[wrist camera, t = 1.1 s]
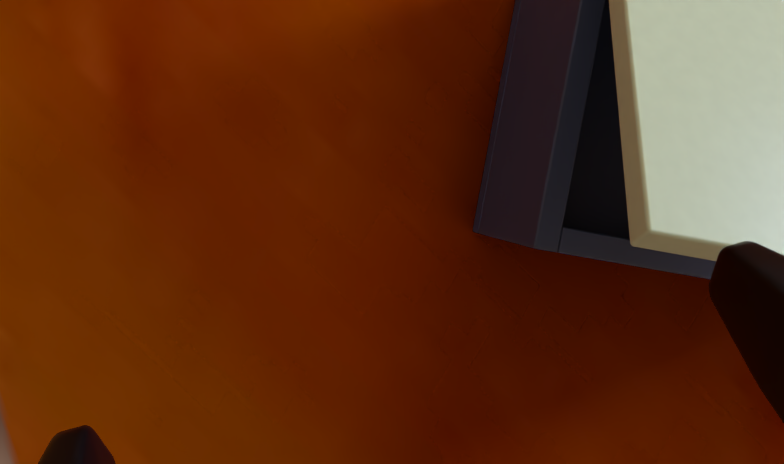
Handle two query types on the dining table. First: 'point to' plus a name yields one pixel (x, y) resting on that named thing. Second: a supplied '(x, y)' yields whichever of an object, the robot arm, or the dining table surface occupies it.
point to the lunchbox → (563, 142)
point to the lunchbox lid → (701, 122)
